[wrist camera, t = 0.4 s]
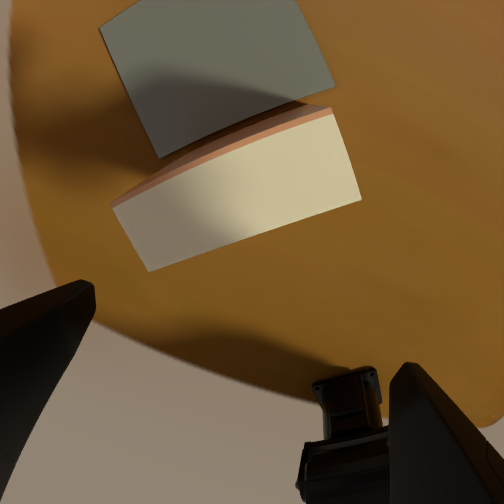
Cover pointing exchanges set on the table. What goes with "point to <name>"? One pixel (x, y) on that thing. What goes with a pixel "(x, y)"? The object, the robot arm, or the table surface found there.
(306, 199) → the glazed tile
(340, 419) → the robot arm
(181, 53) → the rubber mat
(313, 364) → the table surface
